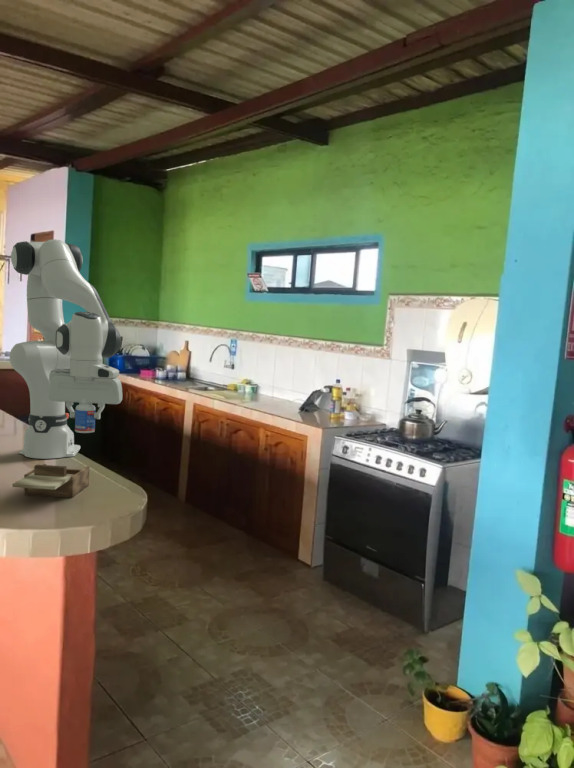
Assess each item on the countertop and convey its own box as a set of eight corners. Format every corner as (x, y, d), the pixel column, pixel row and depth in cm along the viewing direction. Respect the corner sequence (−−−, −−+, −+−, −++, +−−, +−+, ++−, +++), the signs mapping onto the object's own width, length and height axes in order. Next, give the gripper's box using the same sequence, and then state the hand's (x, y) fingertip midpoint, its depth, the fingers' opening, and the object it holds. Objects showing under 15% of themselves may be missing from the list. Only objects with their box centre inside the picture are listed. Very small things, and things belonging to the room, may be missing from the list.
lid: (34, 474, 172) (34, 463, 172) (73, 477, 172) (73, 465, 172) (12, 487, 159) (12, 474, 159) (55, 489, 159) (55, 476, 159)
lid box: (43, 482, 182) (44, 464, 181) (88, 485, 181) (89, 466, 181) (24, 494, 169) (24, 474, 168) (72, 497, 169) (72, 477, 168)
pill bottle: (89, 434, 178) (89, 399, 177) (71, 432, 178) (71, 398, 178) (98, 431, 183) (99, 397, 182) (81, 429, 184) (81, 396, 183)
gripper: (45, 368, 176) (44, 418, 177) (118, 372, 176) (117, 421, 177) (53, 367, 182) (53, 415, 184) (124, 370, 182) (123, 418, 183)
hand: (85, 418), depth 180 cm, fingers closed on pill bottle, 5 cm apart
